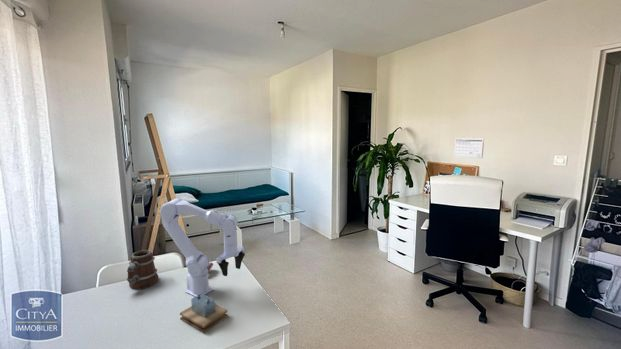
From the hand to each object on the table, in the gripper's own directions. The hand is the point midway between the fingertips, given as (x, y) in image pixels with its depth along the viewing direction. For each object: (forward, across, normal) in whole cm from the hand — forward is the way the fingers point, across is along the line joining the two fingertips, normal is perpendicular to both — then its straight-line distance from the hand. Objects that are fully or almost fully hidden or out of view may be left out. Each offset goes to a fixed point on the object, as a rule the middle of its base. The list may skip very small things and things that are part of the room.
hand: (231, 271), depth 126 cm
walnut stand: (+9, -19, -5) cm, 22 cm away
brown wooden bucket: (+10, -19, +40) cm, 46 cm away
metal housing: (+7, -19, -5) cm, 21 cm away
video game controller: (+10, +3, +24) cm, 26 cm away
